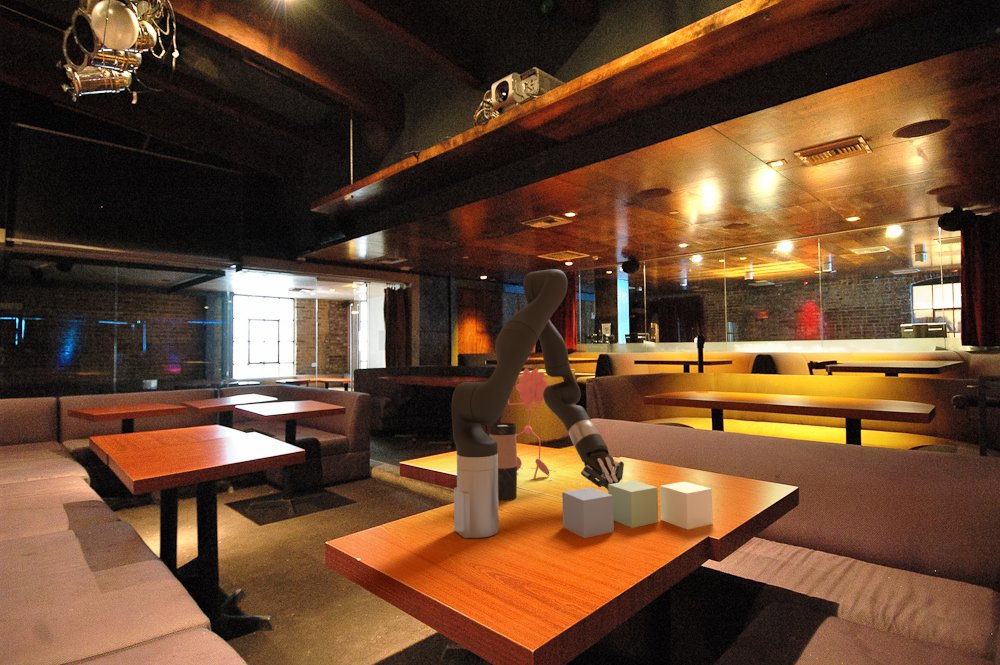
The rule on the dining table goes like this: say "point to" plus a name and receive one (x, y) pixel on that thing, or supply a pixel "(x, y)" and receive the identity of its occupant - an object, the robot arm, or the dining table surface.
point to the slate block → (588, 512)
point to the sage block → (634, 503)
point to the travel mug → (506, 459)
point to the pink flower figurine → (530, 392)
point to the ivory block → (686, 505)
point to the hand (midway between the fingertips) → (619, 498)
